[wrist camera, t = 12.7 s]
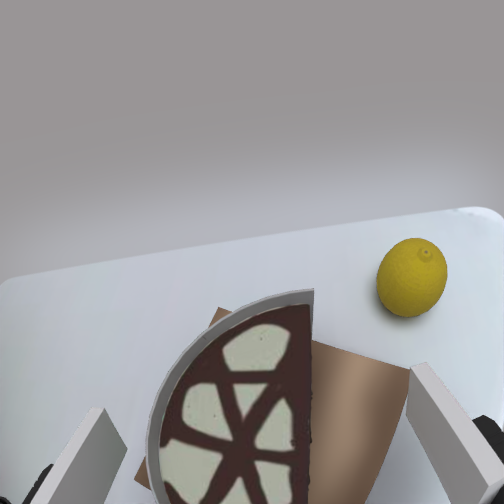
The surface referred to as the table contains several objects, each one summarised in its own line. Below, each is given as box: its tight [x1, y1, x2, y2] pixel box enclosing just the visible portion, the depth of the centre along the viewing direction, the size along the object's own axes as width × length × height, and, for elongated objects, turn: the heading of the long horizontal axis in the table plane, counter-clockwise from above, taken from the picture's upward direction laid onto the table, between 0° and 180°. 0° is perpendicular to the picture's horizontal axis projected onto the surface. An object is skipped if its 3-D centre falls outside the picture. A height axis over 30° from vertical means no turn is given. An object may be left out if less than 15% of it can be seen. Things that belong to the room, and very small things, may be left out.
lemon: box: [377, 238, 447, 317], centre depth 23 cm, size 6×6×8 cm
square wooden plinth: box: [134, 307, 410, 504], centre depth 20 cm, size 14×14×6 cm
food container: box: [146, 288, 314, 504], centre depth 13 cm, size 12×6×10 cm, turn 178°
